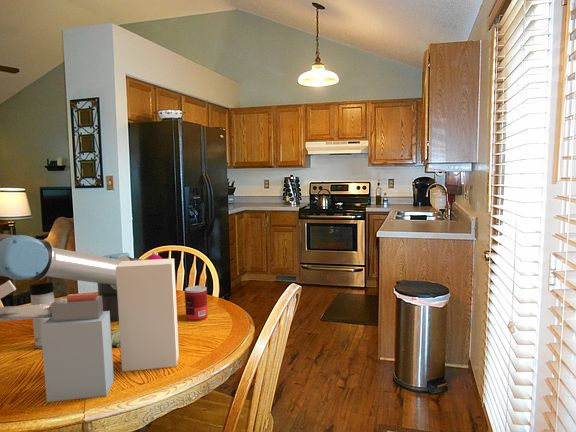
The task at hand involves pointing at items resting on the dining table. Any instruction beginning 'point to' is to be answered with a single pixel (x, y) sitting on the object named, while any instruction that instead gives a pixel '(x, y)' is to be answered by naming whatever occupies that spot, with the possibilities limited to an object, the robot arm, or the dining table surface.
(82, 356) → the low stand
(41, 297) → the travel mug
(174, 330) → the tall stand
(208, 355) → the dining table surface
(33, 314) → the grey piece
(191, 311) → the canned food
